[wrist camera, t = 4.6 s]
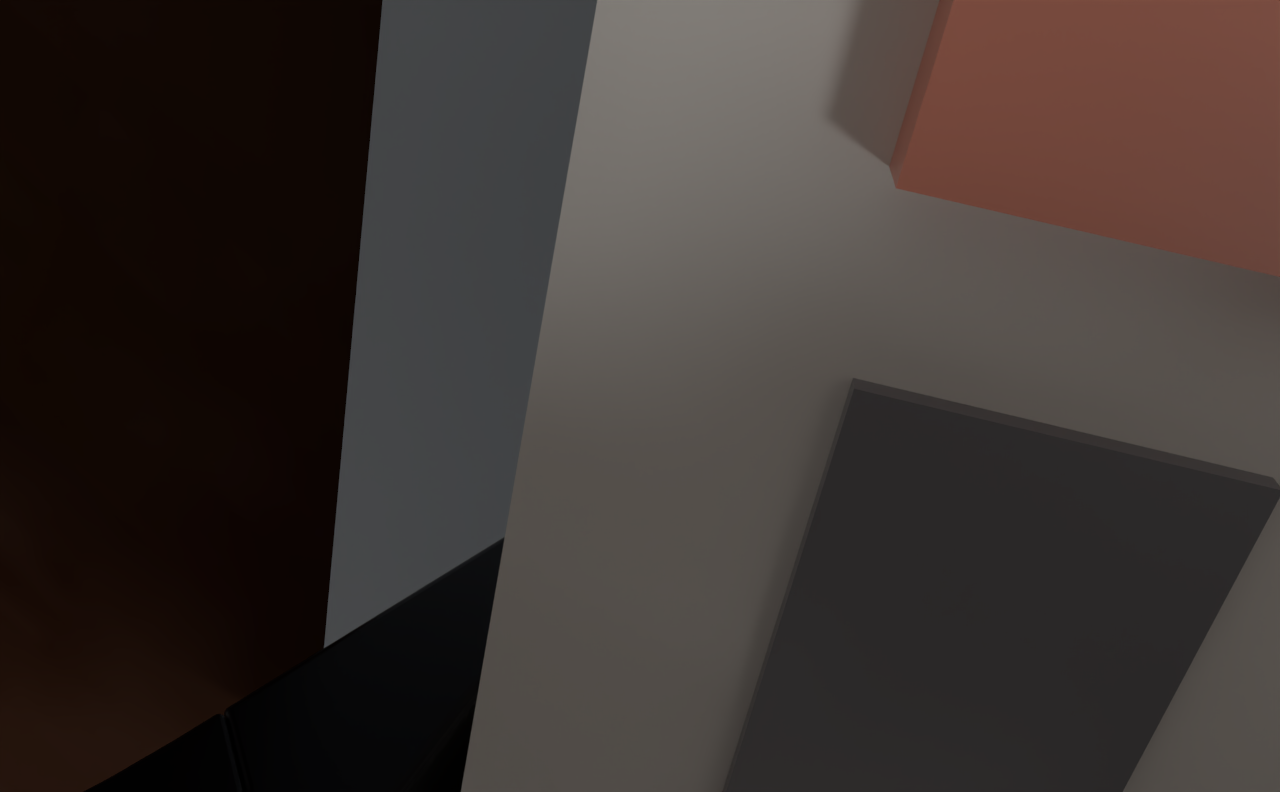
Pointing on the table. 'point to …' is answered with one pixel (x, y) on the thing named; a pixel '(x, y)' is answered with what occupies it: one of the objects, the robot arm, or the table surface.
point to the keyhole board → (450, 284)
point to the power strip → (903, 408)
